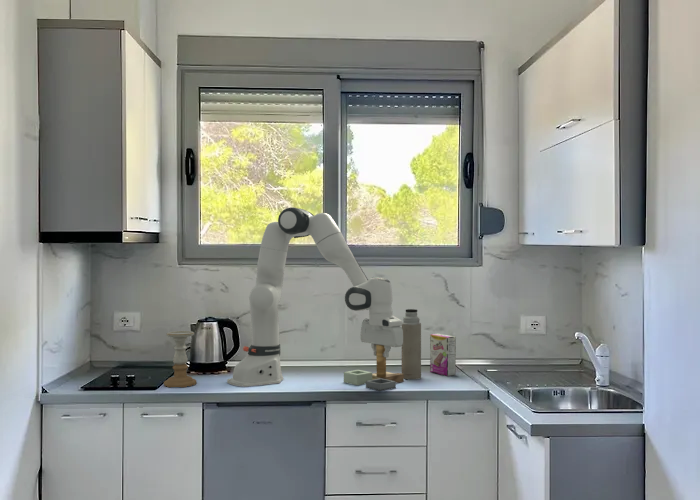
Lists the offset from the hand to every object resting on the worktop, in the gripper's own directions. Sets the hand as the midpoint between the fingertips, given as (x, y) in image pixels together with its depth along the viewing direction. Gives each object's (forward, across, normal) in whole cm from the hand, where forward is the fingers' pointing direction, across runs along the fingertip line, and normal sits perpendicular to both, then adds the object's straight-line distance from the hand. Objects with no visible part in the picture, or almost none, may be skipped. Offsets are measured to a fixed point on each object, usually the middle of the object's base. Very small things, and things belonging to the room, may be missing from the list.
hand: (381, 356), depth 234 cm
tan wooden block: (+12, -9, +10) cm, 18 cm away
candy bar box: (+12, -3, +39) cm, 41 cm away
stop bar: (+12, -4, +10) cm, 16 cm away
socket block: (+12, -13, 0) cm, 18 cm away
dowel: (+8, 0, 0) cm, 8 cm away
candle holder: (+12, -55, -55) cm, 79 cm away
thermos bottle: (+12, -6, +23) cm, 27 cm away
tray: (+12, 0, 0) cm, 12 cm away
